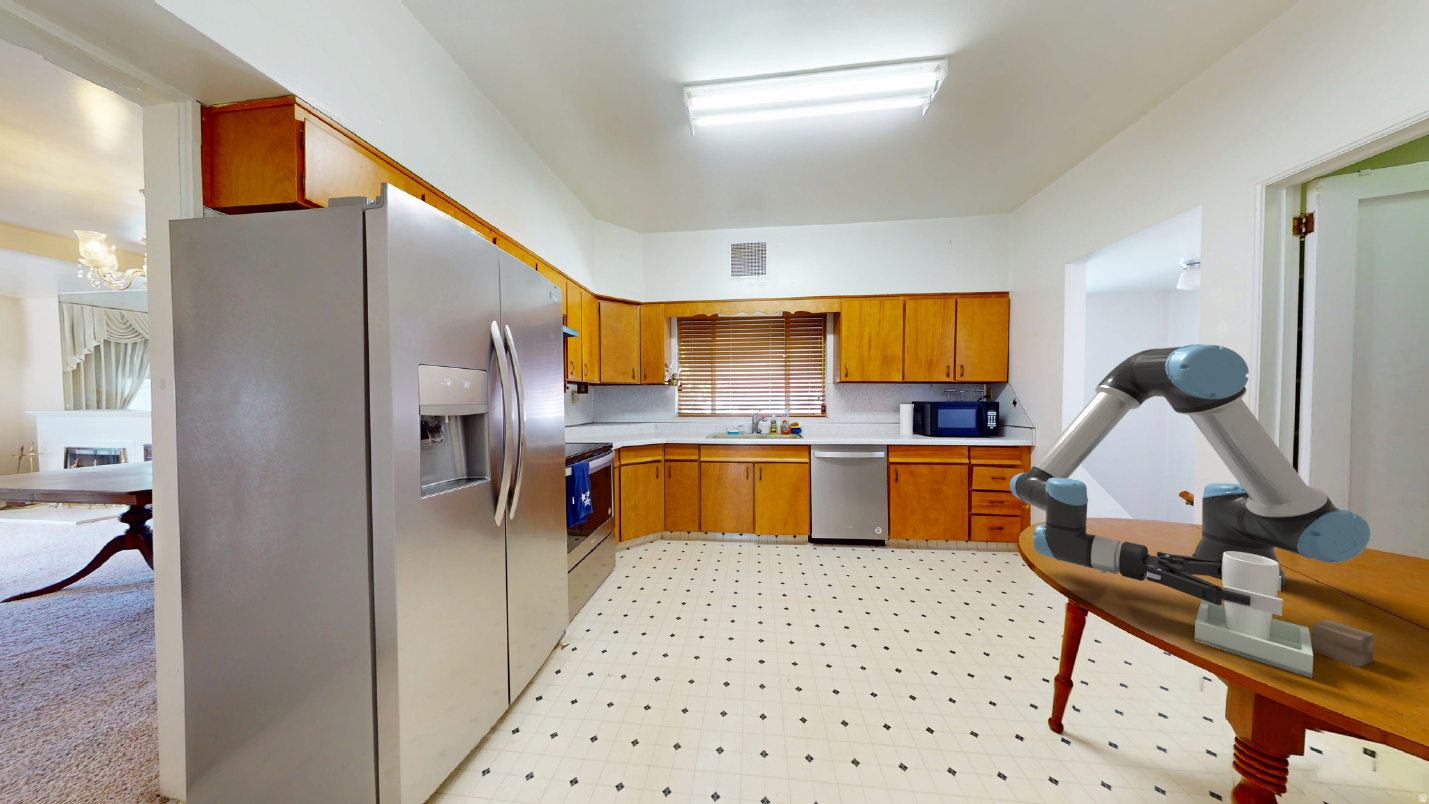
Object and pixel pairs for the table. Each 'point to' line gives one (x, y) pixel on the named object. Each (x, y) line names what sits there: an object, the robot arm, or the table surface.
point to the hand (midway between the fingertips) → (1281, 595)
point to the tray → (1257, 641)
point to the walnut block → (1342, 643)
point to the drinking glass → (1254, 578)
